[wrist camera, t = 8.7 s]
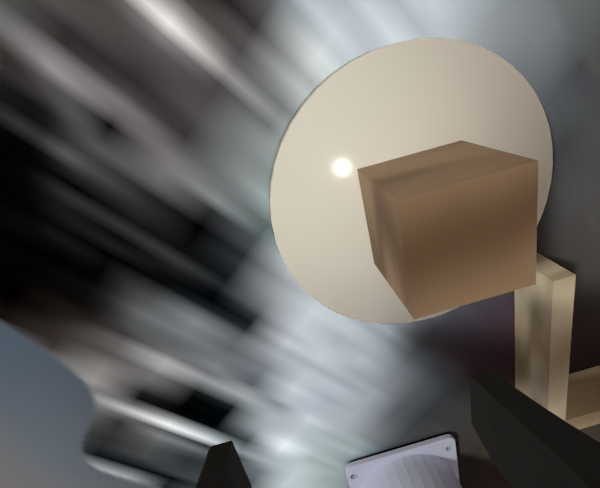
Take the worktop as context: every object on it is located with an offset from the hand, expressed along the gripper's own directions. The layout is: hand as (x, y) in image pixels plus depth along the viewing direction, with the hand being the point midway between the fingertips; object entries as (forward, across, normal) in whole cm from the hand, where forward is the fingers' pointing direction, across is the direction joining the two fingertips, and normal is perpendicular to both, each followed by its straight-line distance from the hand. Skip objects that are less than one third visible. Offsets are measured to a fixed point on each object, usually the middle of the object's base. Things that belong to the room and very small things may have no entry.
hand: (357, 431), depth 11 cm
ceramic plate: (+10, -6, -3) cm, 12 cm away
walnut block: (+9, -6, -3) cm, 11 cm away
